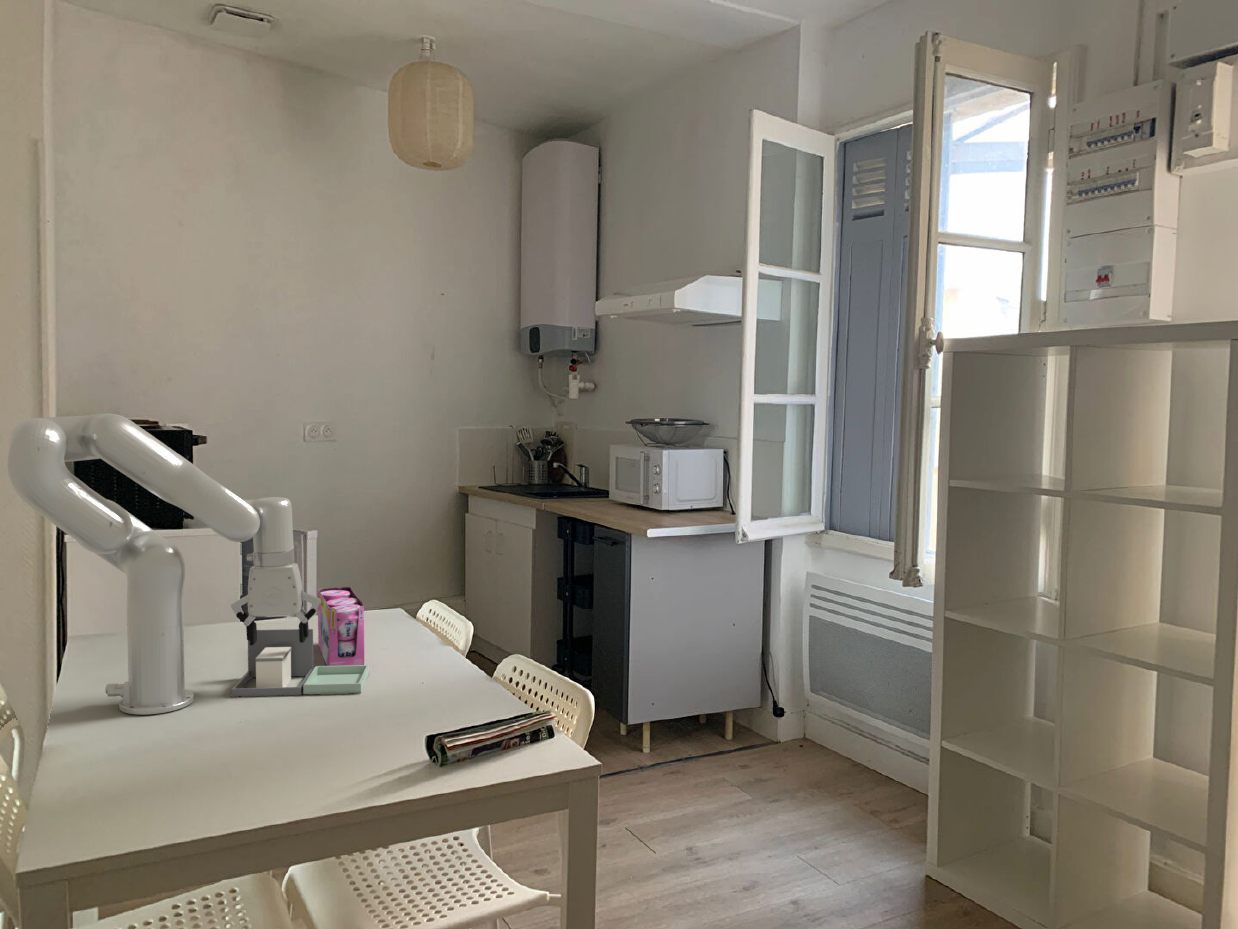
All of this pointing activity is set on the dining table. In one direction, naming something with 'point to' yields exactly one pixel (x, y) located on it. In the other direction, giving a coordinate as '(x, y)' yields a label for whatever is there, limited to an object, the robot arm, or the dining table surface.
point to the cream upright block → (273, 667)
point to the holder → (299, 661)
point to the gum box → (341, 626)
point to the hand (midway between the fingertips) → (278, 642)
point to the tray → (336, 679)
